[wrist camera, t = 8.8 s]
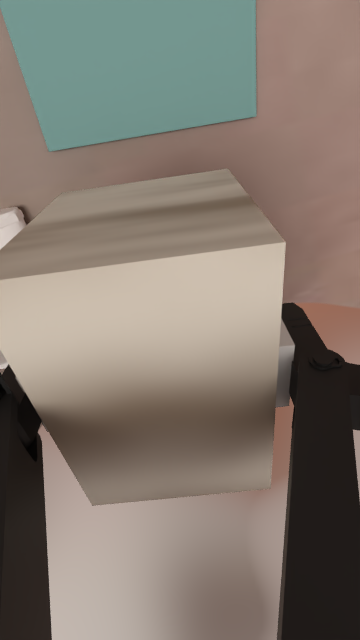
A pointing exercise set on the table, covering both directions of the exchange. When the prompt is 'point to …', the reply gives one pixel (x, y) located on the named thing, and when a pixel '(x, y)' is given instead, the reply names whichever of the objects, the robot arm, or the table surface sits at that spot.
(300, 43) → the table surface
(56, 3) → the mat
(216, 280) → the block
